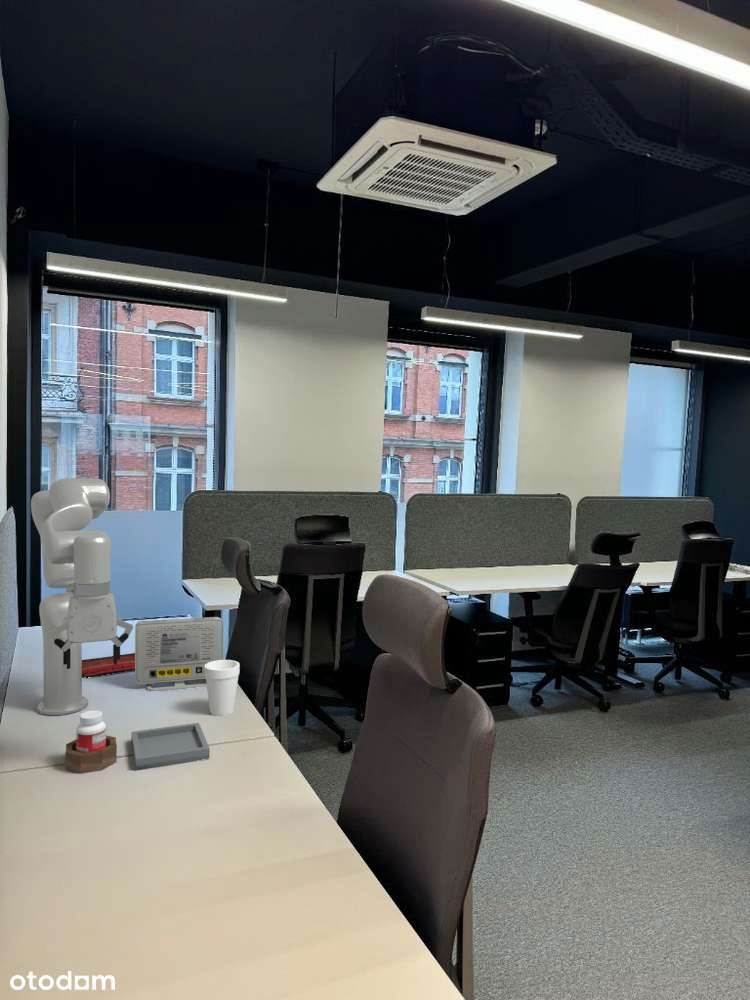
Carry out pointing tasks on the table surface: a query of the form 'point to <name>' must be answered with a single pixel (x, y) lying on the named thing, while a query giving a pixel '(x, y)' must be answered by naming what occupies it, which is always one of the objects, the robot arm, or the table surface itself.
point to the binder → (107, 665)
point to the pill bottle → (91, 732)
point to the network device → (176, 650)
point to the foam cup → (222, 685)
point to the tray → (169, 746)
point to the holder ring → (91, 757)
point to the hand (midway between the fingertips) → (92, 665)
